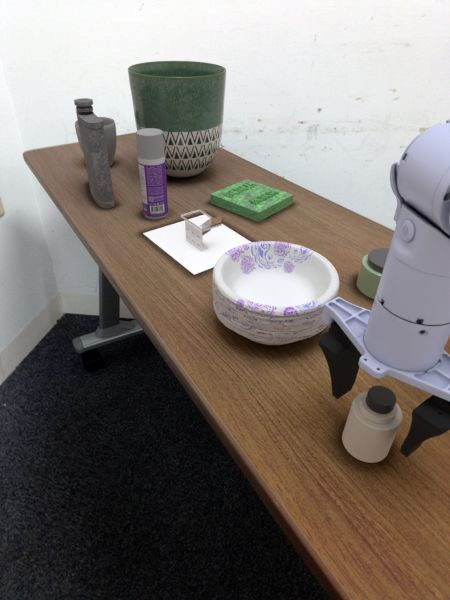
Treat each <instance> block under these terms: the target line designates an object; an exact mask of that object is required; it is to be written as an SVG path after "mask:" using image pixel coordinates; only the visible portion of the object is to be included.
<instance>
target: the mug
mask: <svg viewBox="0 0 450 600" xmlns="http://www.w3.org/2000/svg"><path fill="white" fill-rule="evenodd" d="M98 117H99V118H101V119H102V120H103V125H104V132H105V139H106V146H107V153H108V160H109V166H110V167H112V166H113V164H114V159H115V156H116V151H117V143H118V141H117V136H118V135H117V125H116V121H115V120H114V119H113V118H110V117H107V116H98ZM74 129H75V134H76V137H77V141H78V144H79V147H80V149H81V152H82V154H83V155H84V152H83V147H82V141H81V136H80V130H79V125H78V119H77V120H75V122H74Z"/></svg>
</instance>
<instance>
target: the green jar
mask: <svg viewBox="0 0 450 600" xmlns="http://www.w3.org/2000/svg"><path fill="white" fill-rule="evenodd" d="M389 248H390V247H377V248H373V249H371V250H370V251H369V252H368V253H367V254H365V255H364V256H363V257H362V259H361V263H360V266H359V270H358V274H357V279H356V287H357V289H358V291H360V292H361V294H363V295H364V296H366V297H368V298H369V299H372V300H375V296H376V293H377V289H378V286H379V283H380V279H381V276H382V272H383V269H384V265H385V262H386V259H387V255H388V252H389Z"/></svg>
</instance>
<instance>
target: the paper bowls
mask: <svg viewBox="0 0 450 600" xmlns="http://www.w3.org/2000/svg"><path fill="white" fill-rule="evenodd" d="M251 242H252V241H251ZM212 269H213V270H212V288H211V289H212V290H211V291H212V306H213V310H214V312H215V315H216V317H217V319H218V320H219V321H220V322H221V323H222V324H223V325H224V326H225V327H226V328H227V329H229V330H232V331H233V332H235V333H236V334H238V335H240V336H242V337H244V338H246V339H248V340H250V341H253V342H255V343H258V344H262V345H268V346H281V345H283V346H284V345H288V344H293V343H294V342H298V341H304V340H306V339H309V338H312V337H314V336H316V335H317V334H320V332H321V333H322V331H324V330H325V329H326V328H327V327H328V325H327V324H326V323H324V322H323V321H321V318H322V313H323V308H324V304H325V303H327V302H329V301H331V300H333V299H335V298H337V297H338V295H339V290H340V285H341V284H340V283H341V280H340V276H339V274H338V273H339V272H338V271H337V269H336V268H335V266H334V265H333V264H332V263H331V261H330V260H329V259H327V258H326V257H325V256H323V255H322V254H320V253H318V252H317V251H315V250H313V249H311V248H308V247H306V246H303V245H300V244H296V243H293V242H286V241H277V240H276V241H274V240H260V241H253V242H252V243H247V244H243V245H240V246H237V247H235V248H232V249H231V250H229V251H227V252H226V253H225V254H223V255H222V256H221V257H220V258H219V260H218V261H217V262H216V264H215V266H214V267H213V268H212Z"/></svg>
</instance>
